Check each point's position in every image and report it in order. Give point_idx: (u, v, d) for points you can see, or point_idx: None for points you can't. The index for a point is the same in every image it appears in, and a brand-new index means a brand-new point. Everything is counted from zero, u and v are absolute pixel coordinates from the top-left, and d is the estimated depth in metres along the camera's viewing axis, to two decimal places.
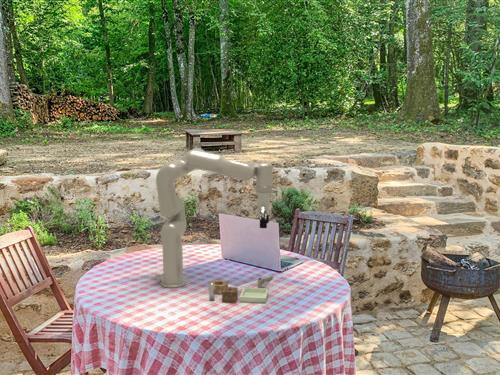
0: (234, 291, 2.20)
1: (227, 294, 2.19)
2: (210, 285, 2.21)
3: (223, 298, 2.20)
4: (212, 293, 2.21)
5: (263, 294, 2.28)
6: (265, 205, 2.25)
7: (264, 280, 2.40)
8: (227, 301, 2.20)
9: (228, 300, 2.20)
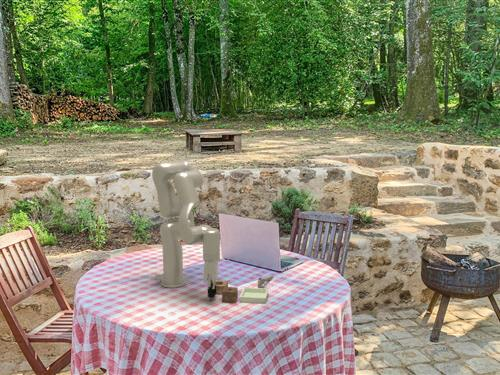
0: (234, 291, 2.20)
1: (227, 294, 2.19)
2: None
3: (223, 298, 2.20)
4: None
5: (263, 294, 2.28)
6: (211, 274, 2.16)
7: (264, 280, 2.40)
8: (227, 301, 2.20)
9: (228, 300, 2.20)
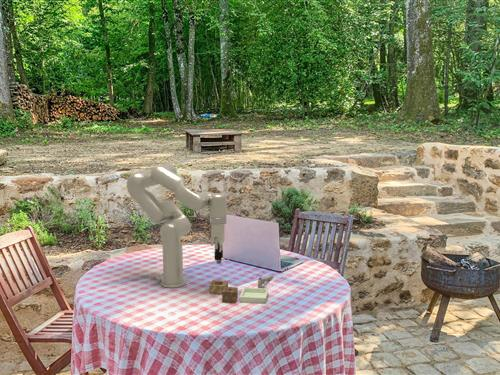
0: (234, 291, 2.20)
1: (227, 294, 2.19)
2: None
3: (223, 298, 2.20)
4: None
5: (263, 294, 2.28)
6: (218, 237, 2.24)
7: (264, 280, 2.40)
8: (227, 301, 2.20)
9: (228, 300, 2.20)
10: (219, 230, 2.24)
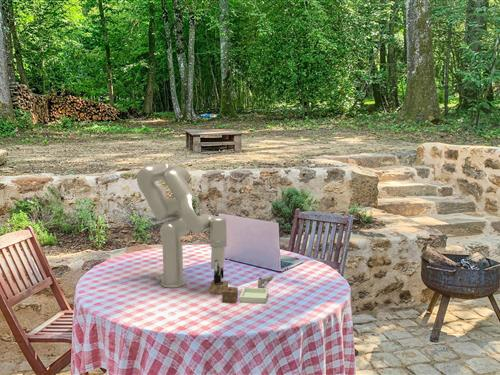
0: (234, 291, 2.20)
1: (227, 294, 2.19)
2: None
3: (223, 298, 2.20)
4: (219, 284, 2.32)
5: (263, 294, 2.28)
6: (218, 260, 2.26)
7: (264, 280, 2.40)
8: (227, 301, 2.20)
9: (228, 300, 2.20)
10: (219, 253, 2.26)
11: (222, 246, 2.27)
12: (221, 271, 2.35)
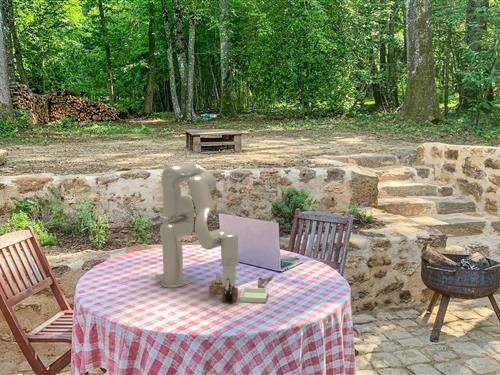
0: (234, 291, 2.20)
1: None
2: (217, 277, 2.31)
3: (223, 298, 2.20)
4: (219, 284, 2.32)
5: (263, 294, 2.28)
6: (230, 278, 2.16)
7: (264, 280, 2.40)
8: None
9: None
10: (231, 271, 2.16)
11: (234, 264, 2.17)
12: None
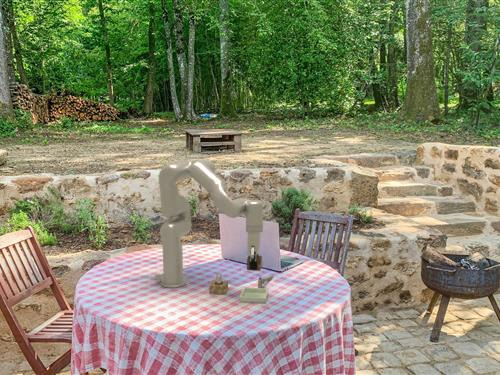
0: (259, 259, 2.20)
1: None
2: (217, 277, 2.31)
3: (248, 266, 2.20)
4: (219, 284, 2.32)
5: (263, 294, 2.28)
6: (255, 245, 2.16)
7: (264, 280, 2.40)
8: None
9: None
10: (256, 238, 2.16)
11: (259, 231, 2.17)
12: None
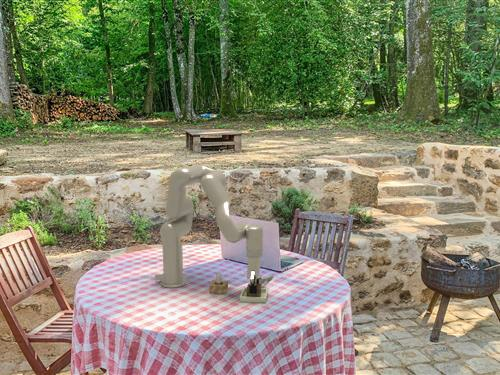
0: (258, 288, 2.22)
1: None
2: (217, 277, 2.31)
3: (248, 295, 2.22)
4: (219, 284, 2.32)
5: (263, 294, 2.28)
6: (255, 270, 2.18)
7: (264, 280, 2.40)
8: None
9: (252, 296, 2.22)
10: (256, 263, 2.18)
11: (259, 256, 2.19)
12: (256, 280, 2.28)
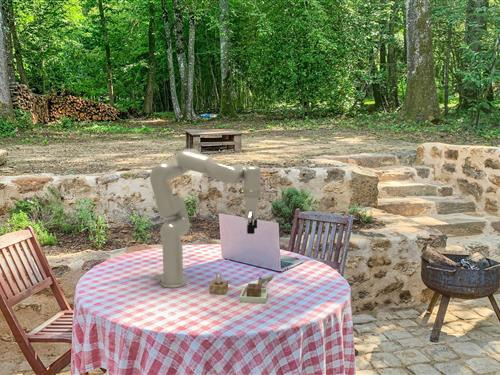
0: (258, 288, 2.22)
1: (251, 290, 2.22)
2: (217, 277, 2.31)
3: (248, 295, 2.22)
4: (219, 284, 2.32)
5: (263, 294, 2.28)
6: (253, 210, 2.18)
7: (264, 280, 2.40)
8: None
9: (252, 296, 2.22)
10: (254, 203, 2.18)
11: (256, 196, 2.19)
12: (255, 221, 2.28)
